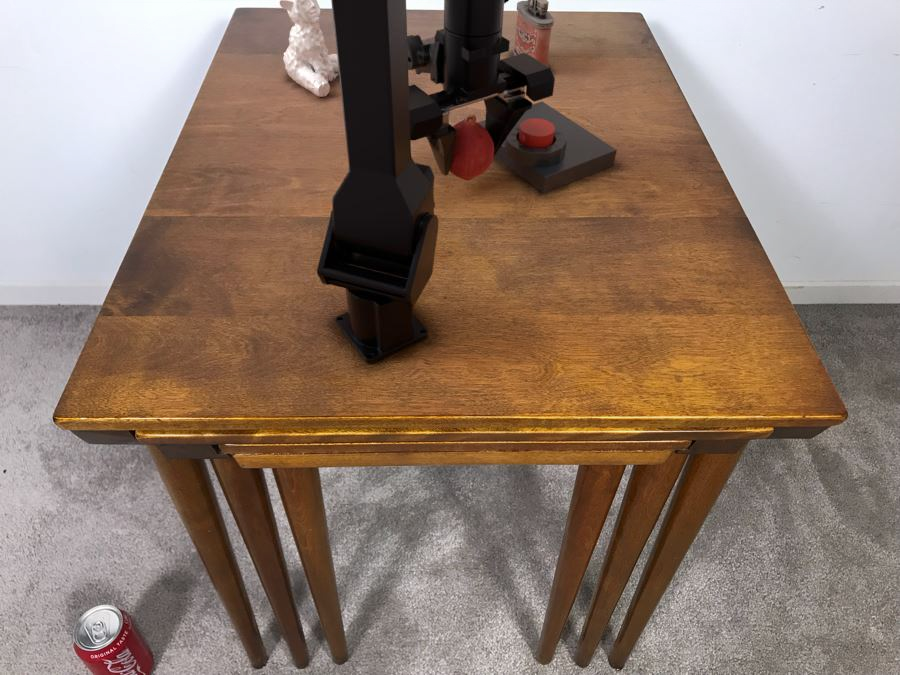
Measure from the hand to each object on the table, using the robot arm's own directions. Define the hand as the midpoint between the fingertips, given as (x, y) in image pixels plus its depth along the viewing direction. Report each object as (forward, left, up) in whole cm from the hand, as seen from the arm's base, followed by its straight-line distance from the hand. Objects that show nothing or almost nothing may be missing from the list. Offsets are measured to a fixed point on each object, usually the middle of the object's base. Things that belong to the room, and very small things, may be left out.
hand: (466, 165), depth 80 cm
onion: (0, 0, -2) cm, 2 cm away
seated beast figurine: (+33, +3, -3) cm, 33 cm away
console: (+1, -12, -3) cm, 12 cm away
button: (-1, -9, +1) cm, 9 cm away
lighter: (+21, -26, -3) cm, 34 cm away
